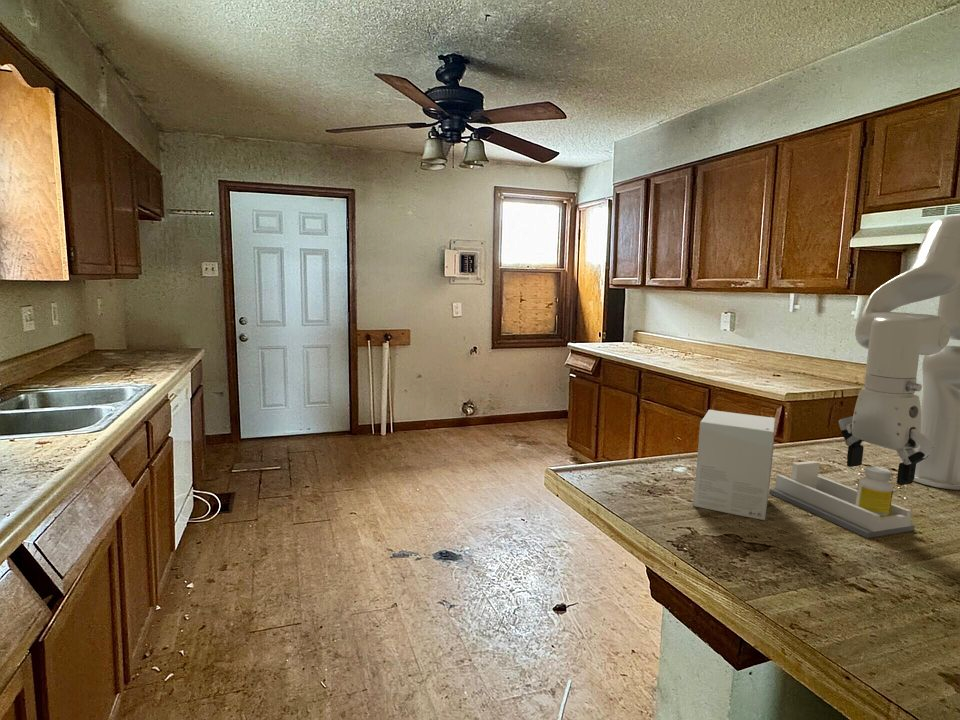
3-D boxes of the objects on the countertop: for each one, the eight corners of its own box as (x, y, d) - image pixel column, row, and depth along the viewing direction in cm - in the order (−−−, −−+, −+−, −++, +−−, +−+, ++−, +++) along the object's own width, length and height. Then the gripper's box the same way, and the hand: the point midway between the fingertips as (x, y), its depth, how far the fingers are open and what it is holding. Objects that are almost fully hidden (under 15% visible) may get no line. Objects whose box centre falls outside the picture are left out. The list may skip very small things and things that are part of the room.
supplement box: (768, 499, 120) (777, 417, 118) (765, 521, 109) (775, 431, 106) (700, 486, 126) (707, 408, 124) (691, 506, 115) (699, 421, 112)
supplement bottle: (894, 527, 105) (901, 475, 104) (861, 523, 106) (868, 472, 105) (879, 515, 111) (887, 466, 109) (848, 512, 112) (855, 463, 110)
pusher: (811, 487, 124) (814, 460, 123) (816, 489, 123) (819, 462, 122) (789, 490, 122) (792, 462, 121) (794, 492, 121) (797, 464, 120)
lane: (811, 488, 127) (813, 470, 127) (914, 530, 107) (917, 509, 106) (769, 493, 123) (771, 475, 123) (867, 538, 103) (870, 516, 102)
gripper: (955, 393, 98) (941, 489, 101) (859, 374, 114) (850, 457, 117) (924, 396, 95) (911, 494, 98) (831, 377, 112) (822, 461, 114)
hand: (878, 474), depth 108 cm, fingers open, 9 cm apart
